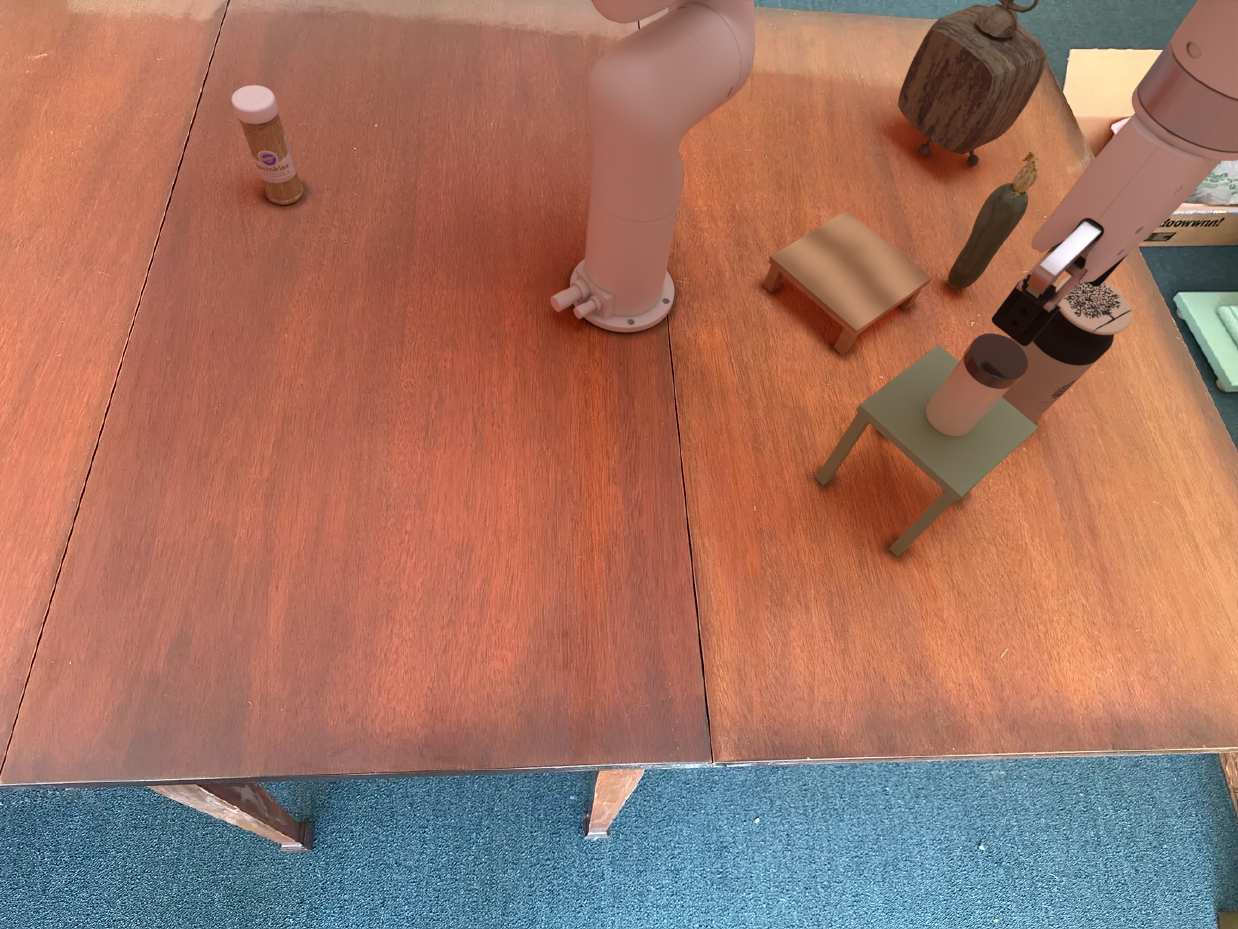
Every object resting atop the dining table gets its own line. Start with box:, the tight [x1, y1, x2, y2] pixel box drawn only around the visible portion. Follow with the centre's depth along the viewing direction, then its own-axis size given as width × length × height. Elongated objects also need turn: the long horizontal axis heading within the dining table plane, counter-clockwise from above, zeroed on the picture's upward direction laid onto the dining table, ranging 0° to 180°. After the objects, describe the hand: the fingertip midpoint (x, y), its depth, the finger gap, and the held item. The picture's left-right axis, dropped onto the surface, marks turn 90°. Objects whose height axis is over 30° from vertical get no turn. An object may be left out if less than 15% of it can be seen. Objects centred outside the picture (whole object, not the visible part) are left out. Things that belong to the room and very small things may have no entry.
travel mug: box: [1002, 275, 1133, 424], centre depth 83 cm, size 8×8×18 cm
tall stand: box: [815, 344, 1039, 558], centre depth 78 cm, size 12×12×14 cm
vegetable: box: [947, 151, 1039, 290], centre depth 91 cm, size 4×4×20 cm
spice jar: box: [925, 332, 1028, 437], centre depth 68 cm, size 5×5×9 cm
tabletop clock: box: [897, 0, 1048, 167], centre depth 103 cm, size 14×9×25 cm, turn 34°
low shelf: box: [763, 209, 933, 356], centre depth 95 cm, size 14×14×5 cm
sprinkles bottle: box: [230, 84, 305, 206], centre depth 91 cm, size 5×5×14 cm
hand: (1046, 302), depth 59 cm, fingers open, 9 cm apart
